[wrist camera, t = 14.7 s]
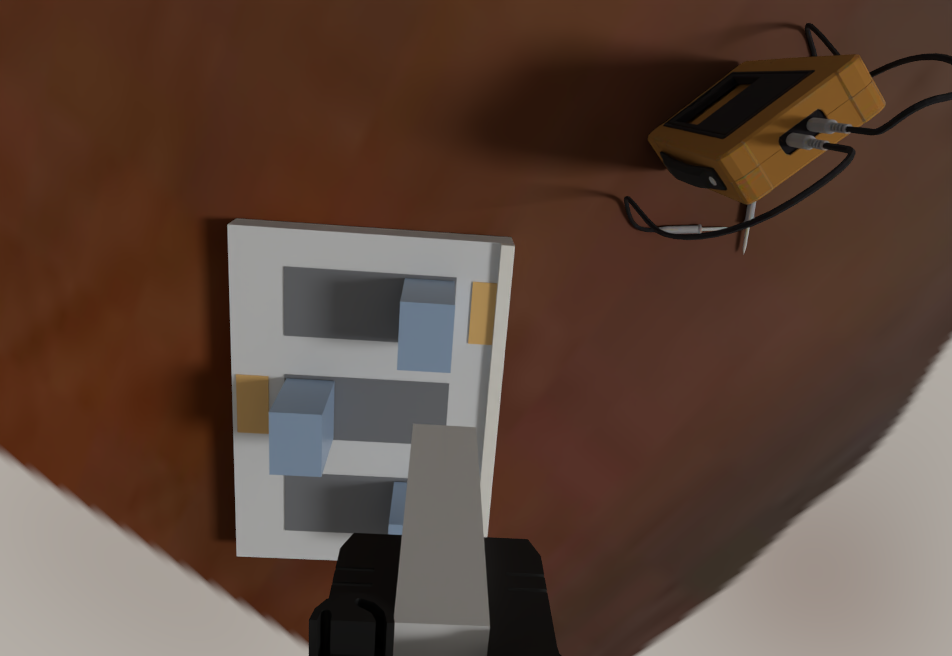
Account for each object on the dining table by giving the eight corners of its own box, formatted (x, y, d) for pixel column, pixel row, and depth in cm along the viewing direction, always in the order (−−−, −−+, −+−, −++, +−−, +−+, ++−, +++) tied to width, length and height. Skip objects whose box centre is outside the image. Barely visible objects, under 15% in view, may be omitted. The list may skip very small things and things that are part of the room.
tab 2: (394, 481, 50) (388, 524, 45) (439, 483, 50) (438, 526, 45) (391, 533, 51) (386, 580, 46) (435, 535, 51) (434, 582, 46)
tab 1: (286, 378, 47) (268, 412, 42) (334, 381, 47) (322, 414, 42) (286, 435, 48) (269, 474, 43) (333, 437, 48) (321, 477, 44)
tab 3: (404, 277, 45) (400, 301, 40) (454, 281, 45) (455, 305, 41) (401, 340, 46) (396, 370, 42) (450, 343, 47) (450, 373, 42)
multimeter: (680, 296, 49) (831, 436, 30) (593, 173, 46) (697, 241, 27) (879, 154, 46) (1181, 208, 27) (799, 16, 43) (1074, -32, 24)
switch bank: (236, 218, 46) (224, 226, 43) (511, 237, 47) (514, 246, 44) (244, 539, 53) (234, 561, 51) (482, 549, 54) (483, 571, 52)
